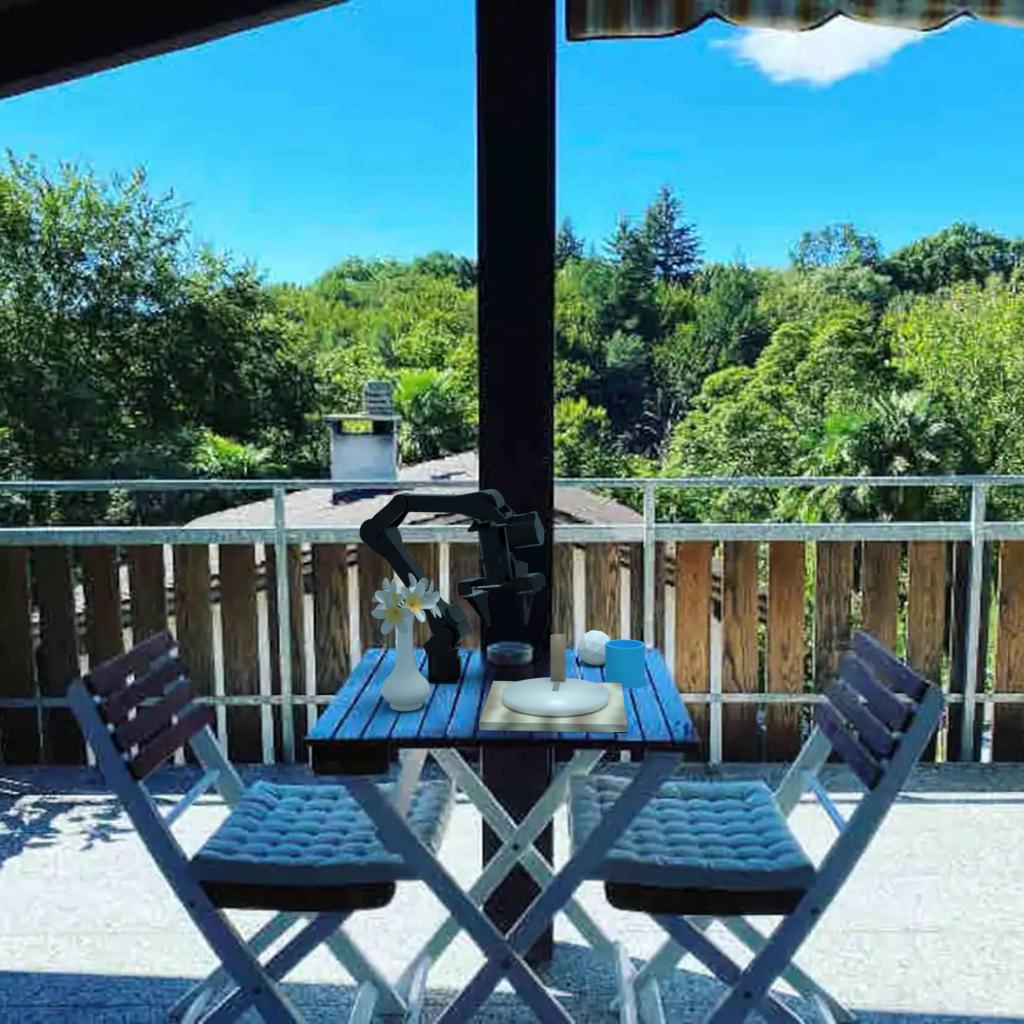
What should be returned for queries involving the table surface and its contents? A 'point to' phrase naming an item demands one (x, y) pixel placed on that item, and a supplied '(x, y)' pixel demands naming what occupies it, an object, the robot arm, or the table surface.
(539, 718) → the dial board
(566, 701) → the dial
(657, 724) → the table surface
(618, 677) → the mug
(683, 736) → the table surface
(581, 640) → the ball
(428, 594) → the flower vase
